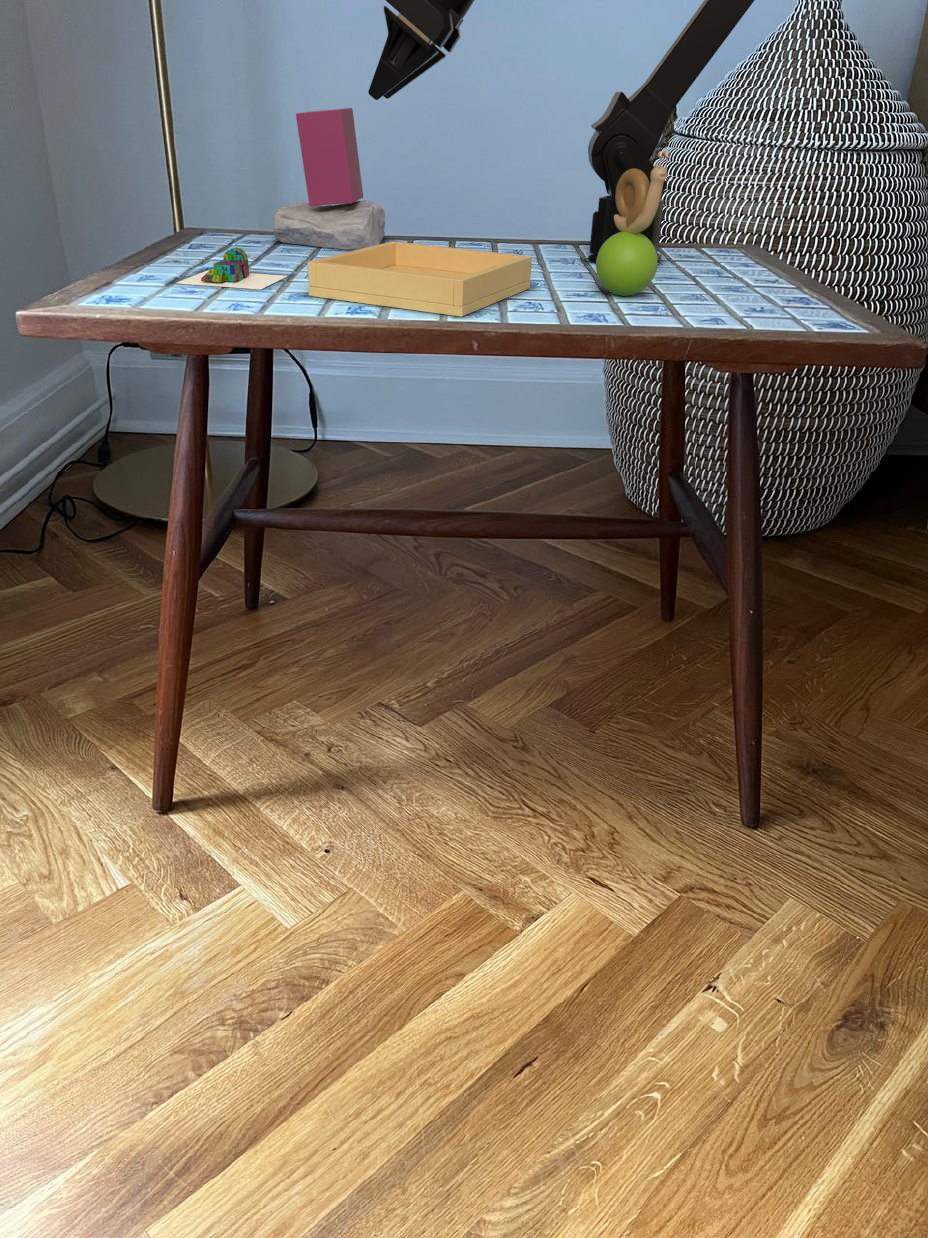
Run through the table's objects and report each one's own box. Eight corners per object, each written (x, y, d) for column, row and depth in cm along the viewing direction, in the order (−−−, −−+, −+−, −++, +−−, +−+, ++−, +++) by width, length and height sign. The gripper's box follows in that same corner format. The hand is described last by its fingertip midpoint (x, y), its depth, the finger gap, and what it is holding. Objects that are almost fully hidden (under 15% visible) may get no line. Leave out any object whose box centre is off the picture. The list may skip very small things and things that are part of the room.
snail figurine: (622, 305, 82) (639, 150, 76) (581, 291, 87) (594, 145, 81) (672, 301, 85) (692, 151, 79) (629, 287, 90) (645, 145, 84)
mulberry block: (363, 197, 108) (352, 107, 103) (353, 202, 103) (341, 109, 99) (320, 200, 108) (308, 111, 104) (309, 206, 104) (295, 113, 100)
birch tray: (530, 288, 88) (532, 256, 86) (461, 316, 76) (462, 280, 75) (392, 271, 93) (391, 240, 92) (308, 295, 81) (306, 261, 80)
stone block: (374, 267, 104) (389, 235, 112) (370, 222, 101) (386, 192, 109) (269, 265, 105) (290, 234, 113) (262, 221, 102) (284, 191, 110)
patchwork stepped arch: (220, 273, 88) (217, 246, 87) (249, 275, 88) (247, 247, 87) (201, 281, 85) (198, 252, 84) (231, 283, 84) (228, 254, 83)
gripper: (411, -101, 96) (327, 43, 103) (390, -138, 80) (292, 36, 86) (497, -21, 99) (411, 114, 106) (495, -42, 83) (392, 119, 89)
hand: (378, 96), depth 97 cm, fingers open, 9 cm apart
